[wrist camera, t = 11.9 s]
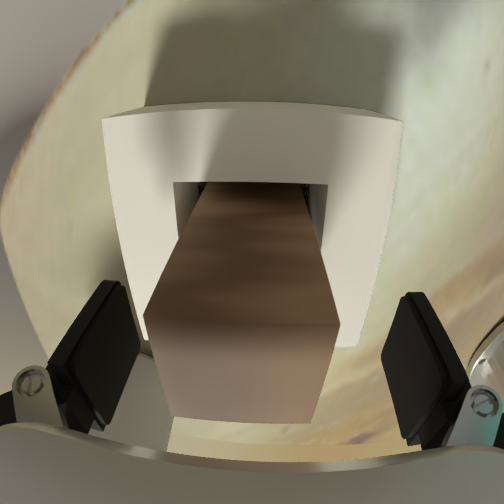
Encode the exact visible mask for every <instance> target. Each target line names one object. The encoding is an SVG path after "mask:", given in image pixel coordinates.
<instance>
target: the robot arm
mask: <svg viewBox="0 0 504 504" xmlns="http://www.w3.org/2000/svg"><path fill="white" fill-rule="evenodd" d="M139 351H140V340H139V336H138V333H137V329H136V326H135V322H134V319H133V315H132V312H131V308H130V304H129V300H128V296H127V293H126V289H125V287H124V286H121V283H120V282H119V281H110V280H103V281H102V282H101V283H100V285H99V286H98V287H97V289H96V290H95V292H94V293H93V294H92V296H91V297H90V299H89V300H88V302H87V303H86V304H85V306H84V307H83V309H82V310H81V312H80V313H79V315H78V316H77V318H76V319H75V320H74V322H73V323H72V325H71V326H70V328H69V329H68V331H67V333H66V334H65V336H64V337H63V339H62V340H61V342H60V343H59V345H58V346H57V348H56V350H55V351H54V353H53V354H52V356H51V358H50V359H49V361H48V365H47V367H46V369H45V368H44V367H41V366H37V365H33V366H29V367H26V368H24V369H22V370H21V371H20V372H19V373H18V374H17V375H16V377H15V378H14V380H13V383H12V390H11V391H9V392H7V393H4V394H2V395H0V504H504V321H503V322H502V323H501V324H500V325H499V326H498V327H497V328H496V329H495V330H494V331H493V332H492V333H491V334H490V335H489V336H488V337H487V338H486V339H485V340H484V342H483V343H482V344H481V346H480V347H479V348H478V349H477V351H476V353H475V354H474V356H473V357H472V359H471V361H470V363H469V366H468V369H467V372H466V371H465V369H464V367H463V365H462V363H461V361H460V359H459V357H458V355H457V353H456V351H455V349H454V347H453V345H452V343H451V341H450V339H449V337H448V335H447V333H446V331H445V330H444V328H443V326H442V324H441V322H440V320H439V318H438V317H437V315H436V313H435V311H434V309H433V308H432V306H431V304H430V302H429V301H428V299H427V297H426V295H425V294H424V293H423V292H408V293H406V295H405V296H403V297H401V299H400V302H399V305H398V308H397V311H396V314H395V317H394V320H393V323H392V325H391V328H390V331H389V334H388V337H387V339H386V342H385V345H384V347H383V350H382V353H381V361H382V365H383V368H384V371H385V375H386V378H387V382H388V386H389V389H390V393H391V397H392V400H393V404H394V408H395V412H396V416H397V420H398V424H399V428H400V432H401V436H402V438H403V439H406V440H407V445H408V446H413V445H418V444H421V448H422V451H416V452H410V453H403V454H396V455H389V456H381V457H373V458H364V459H353V460H341V461H326V462H256V461H239V460H226V459H216V458H206V457H198V456H190V455H183V454H176V453H170V452H164V451H159V450H153V449H148V448H143V447H138V446H134V445H129V444H125V443H121V442H116V441H112V440H108V439H104V438H100V437H96V436H92V435H89V434H88V433H89V431H90V428H91V429H94V430H98V431H102V432H104V429H105V426H106V425H109V424H110V423H111V421H112V418H113V416H114V413H115V411H116V408H117V405H118V403H119V400H120V398H121V395H122V393H123V390H124V388H125V385H126V383H127V380H128V378H129V375H130V373H131V370H132V368H133V366H134V363H135V361H136V358H137V356H138V354H139Z"/></svg>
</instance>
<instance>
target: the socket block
mask: <svg viewBox="0 0 504 504" xmlns="http://www.w3.org/2000/svg"><path fill="white" fill-rule="evenodd" d="M102 123H103V134H104V144H105V152H106V161H107V169H108V176H109V183H110V190H111V196H112V202H113V208H114V214H115V220H116V225H117V230H118V236H119V241H120V246H121V250H122V255H123V260H124V264H125V269H126V273H127V277H128V281H129V286H130V290H131V294H132V298H133V301H134V305H135V309H136V313H137V316H138V320H139V324H140V327H141V331H142V334H143V338H144V340H149V339H148V335H147V331H146V327H145V323H144V319H143V313H144V311H145V309H146V307H147V304H148V302H149V300H150V298H151V296H152V293H153V291H154V289H155V287H156V285H157V283H158V280H159V278H160V276H161V274H162V272H163V270H164V268H165V266H166V264H167V261H168V259H169V257H170V255H171V253H172V251H173V249H174V247H175V245H176V243H177V241H178V239H179V237H180V235H181V233H182V231H183V229H184V227H185V225H186V223H187V221H188V219H189V217H190V215H191V213H192V211H193V209H194V207H195V205H196V203H197V202H198V200H199V187H198V182H279V183H305V184H309V195H308V208H307V209H308V212H309V215H310V218H311V221H312V225H313V228H314V231H315V235H316V238H317V241H318V245H319V248H320V251H321V255H322V258H323V262H324V265H325V269H326V272H327V276H328V279H329V283H330V286H331V290H332V294H333V297H334V301H335V305H336V309H337V313H338V316H339V320H340V324H341V325H340V329H339V332H338V336H337V340H336V343H335V347H354V346H357V343H358V340H359V337H360V334H361V331H362V327H363V324H364V320H365V317H366V314H367V310H368V307H369V303H370V299H371V296H372V292H373V288H374V284H375V280H376V276H377V272H378V268H379V264H380V260H381V255H382V251H383V246H384V242H385V237H386V232H387V227H388V222H389V217H390V212H391V207H392V201H393V195H394V189H395V183H396V177H397V170H398V163H399V156H400V148H401V140H402V131H403V121H400V120H397V119H394V118H392V117H389V116H386V115H383V114H380V113H376V112H373V111H370V110H367V109H359V108H351V107H342V106H331V105H320V104H306V103H288V102H246V101H242V102H200V103H182V104H168V105H157V106H147V107H141V108H137V109H134V110H130V111H126V112H123V113H119V114H116V115H112V116H109V117H106V118H103V119H102Z"/></svg>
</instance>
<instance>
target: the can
mask: <svg viewBox="0 0 504 504" xmlns="http://www.w3.org/2000/svg"><path fill="white" fill-rule="evenodd" d="M173 419H174V416H172V415H171V412H170V409H169V406H168V403H167V400H166V397H165V394H164V391H163V388H162V384H161V381H160V378H159V374H158V371H157V368H156V364H155V361H154V358H152V357H150V356H147V355H145V354H142V353H139V354H138V356H137V358H136V361H135V363H134V366H133V368H132V370H131V373H130V375H129V378H128V380H127V383H126V385H125V388H124V390H123V393H122V395H121V398H120V400H119V403H118V405H117V408H116V411H115V413H114V416H113V418H112V421H111V423H110V424H109V425H106V426H105V429H104V432H102V431H98V430H94V429H91V428H90V431H89V433H88V434H89V435H92V436H96V437H100V438H104V439H108V440H112V441H116V442H121V443H125V444H129V445H134V446H138V447H143V448H148V449H153V450H159V451H164V452H166V451H167V447H168V442H169V437H170V432H171V428H172V423H173Z"/></svg>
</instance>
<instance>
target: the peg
mask: <svg viewBox="0 0 504 504" xmlns="http://www.w3.org/2000/svg"><path fill="white" fill-rule="evenodd" d="M143 319H144V323H145V327H146V331H147V335H148V339H149V342H150V346H151V350H152V353H153V357H154V361H155V364H156V368H157V371H158V374H159V378H160V381H161V384H162V388H163V391H164V394H165V397H166V400H167V403H168V406H169V409H170V412H171V415H172V416H176V417H184V418H193V419H202V420H213V421H226V422H242V423H271V424H301V423H311V420H312V417H313V414H314V411H315V408H316V405H317V402H318V399H319V396H320V393H321V390H322V387H323V384H324V380H325V377H326V374H327V371H328V367H329V364H330V361H331V357H332V354H333V350H334V347H335V343H336V340H337V336H338V332H339V329H340V325H341V324H340V320H339V316H338V313H337V309H336V305H335V301H334V297H333V294H332V290H331V286H330V283H329V279H328V276H327V272H326V269H325V265H324V262H323V258H322V255H321V251H320V248H319V245H318V241H317V238H316V235H315V231H314V228H313V225H312V221H311V218H310V215H309V212H308V209H307V206H306V202H305V199H304V196H303V193H302V190H301V187H300V184H299V183H279V182H208V183H207V185H206V186H205V188H204V190H203V192H202V194H201V196H200V198H199V200H198V202H197V203H196V205H195V207H194V209H193V211H192V213H191V215H190V217H189V219H188V221H187V223H186V225H185V227H184V229H183V231H182V233H181V235H180V237H179V239H178V241H177V243H176V245H175V247H174V249H173V251H172V253H171V255H170V257H169V259H168V261H167V264H166V266H165V268H164V270H163V272H162V274H161V276H160V278H159V280H158V283H157V285H156V287H155V289H154V291H153V293H152V296H151V298H150V300H149V302H148V304H147V307H146V309H145V311H144V313H143Z"/></svg>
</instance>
